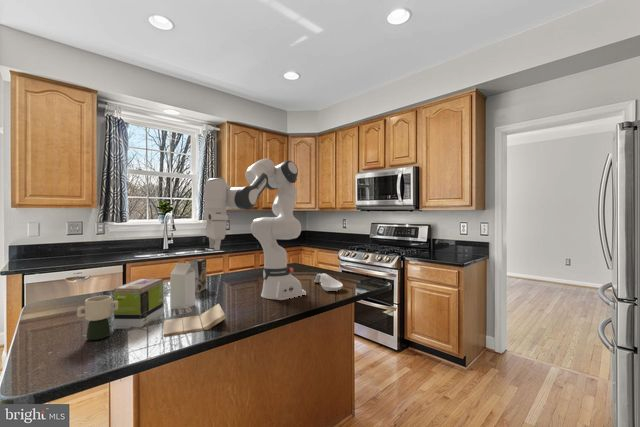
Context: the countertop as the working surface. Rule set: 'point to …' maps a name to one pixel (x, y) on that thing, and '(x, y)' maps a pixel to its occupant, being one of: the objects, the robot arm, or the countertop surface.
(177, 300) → the milk carton
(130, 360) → the countertop surface
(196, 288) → the coffee box
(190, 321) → the laid floor
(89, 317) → the character mug
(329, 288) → the spoon rest
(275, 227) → the robot arm
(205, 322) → the board
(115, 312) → the tea box
